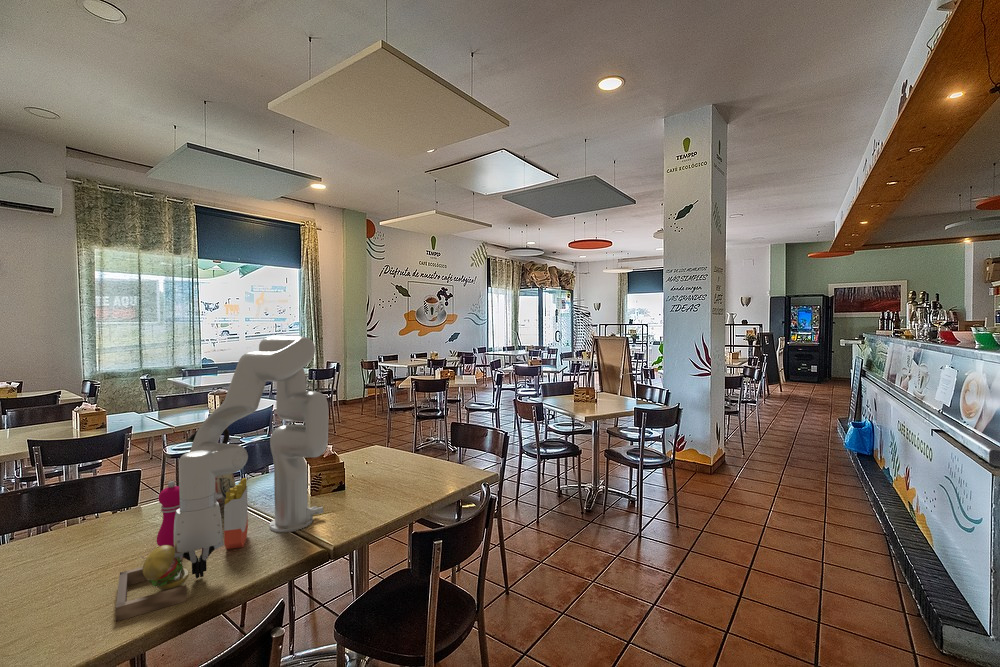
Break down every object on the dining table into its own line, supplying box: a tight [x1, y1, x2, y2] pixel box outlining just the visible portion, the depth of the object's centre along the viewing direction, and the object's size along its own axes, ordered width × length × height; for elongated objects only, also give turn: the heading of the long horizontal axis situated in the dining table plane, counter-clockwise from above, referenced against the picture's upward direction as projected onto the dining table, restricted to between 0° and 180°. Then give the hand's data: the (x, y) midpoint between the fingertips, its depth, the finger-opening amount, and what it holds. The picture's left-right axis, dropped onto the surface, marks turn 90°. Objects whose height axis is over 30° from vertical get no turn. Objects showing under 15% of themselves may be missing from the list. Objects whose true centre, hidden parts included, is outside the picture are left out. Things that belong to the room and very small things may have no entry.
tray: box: [115, 558, 187, 622], centre depth 112 cm, size 12×18×3 cm
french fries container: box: [223, 477, 249, 550], centre depth 136 cm, size 5×11×18 cm, turn 19°
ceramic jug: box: [186, 427, 237, 512], centre depth 160 cm, size 17×15×30 cm
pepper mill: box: [156, 480, 180, 547], centre depth 131 cm, size 7×7×20 cm
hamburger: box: [140, 545, 190, 590], centre depth 112 cm, size 8×7×12 cm
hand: (199, 575), depth 117 cm, fingers closed
